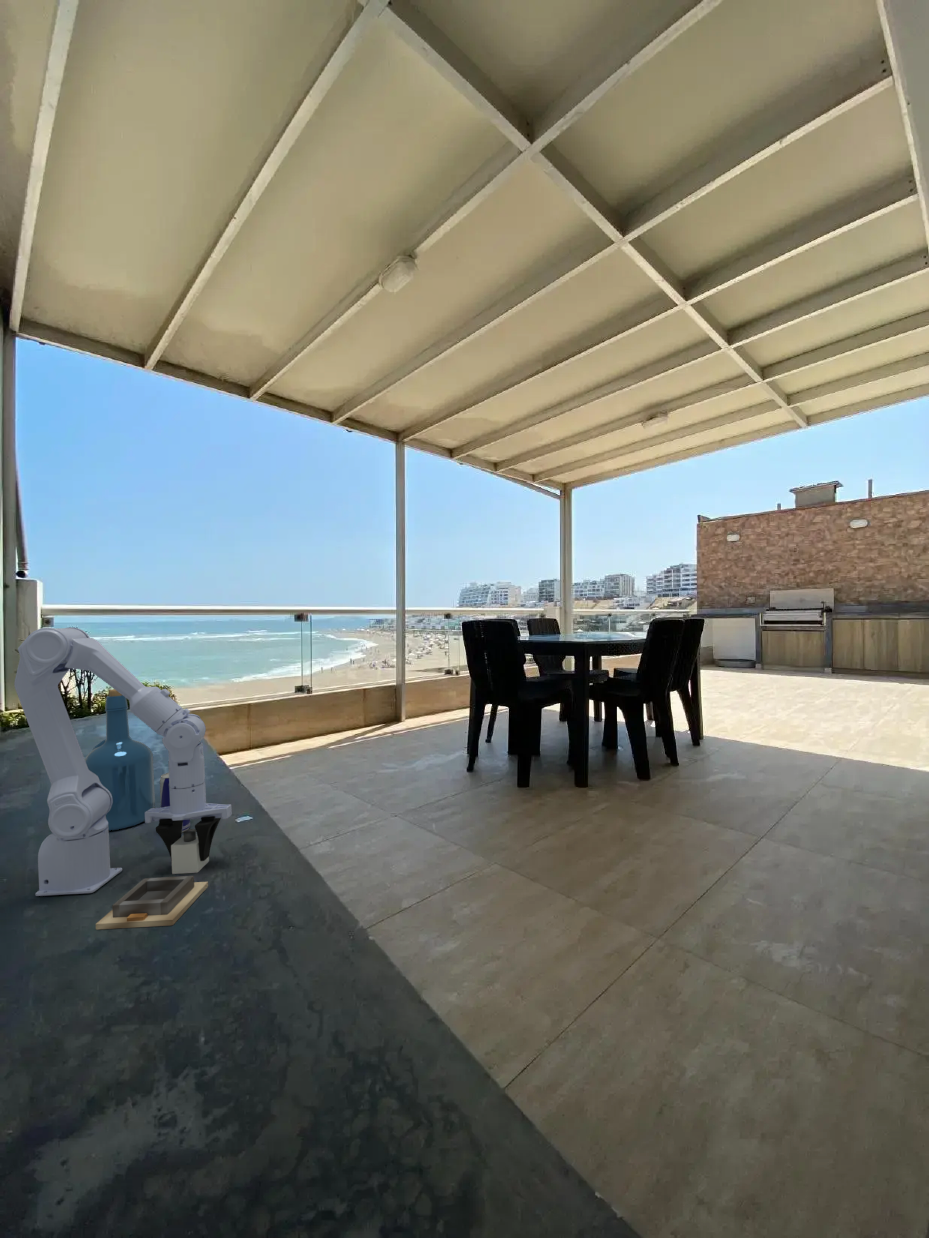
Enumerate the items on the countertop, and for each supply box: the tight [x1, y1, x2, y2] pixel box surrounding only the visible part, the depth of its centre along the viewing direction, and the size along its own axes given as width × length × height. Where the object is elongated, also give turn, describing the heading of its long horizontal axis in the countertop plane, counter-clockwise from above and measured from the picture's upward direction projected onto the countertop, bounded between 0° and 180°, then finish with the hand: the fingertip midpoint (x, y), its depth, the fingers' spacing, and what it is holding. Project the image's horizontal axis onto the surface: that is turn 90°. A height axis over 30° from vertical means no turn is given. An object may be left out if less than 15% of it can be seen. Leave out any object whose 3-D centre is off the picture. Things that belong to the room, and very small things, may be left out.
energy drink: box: [159, 772, 191, 833], centre depth 112 cm, size 5×5×12 cm
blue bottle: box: [84, 688, 156, 832], centre depth 118 cm, size 14×13×30 cm
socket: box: [95, 875, 209, 930], centre depth 81 cm, size 11×11×3 cm
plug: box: [170, 828, 210, 875], centre depth 94 cm, size 4×4×6 cm
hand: (190, 859), depth 94 cm, fingers closed on plug, 4 cm apart
